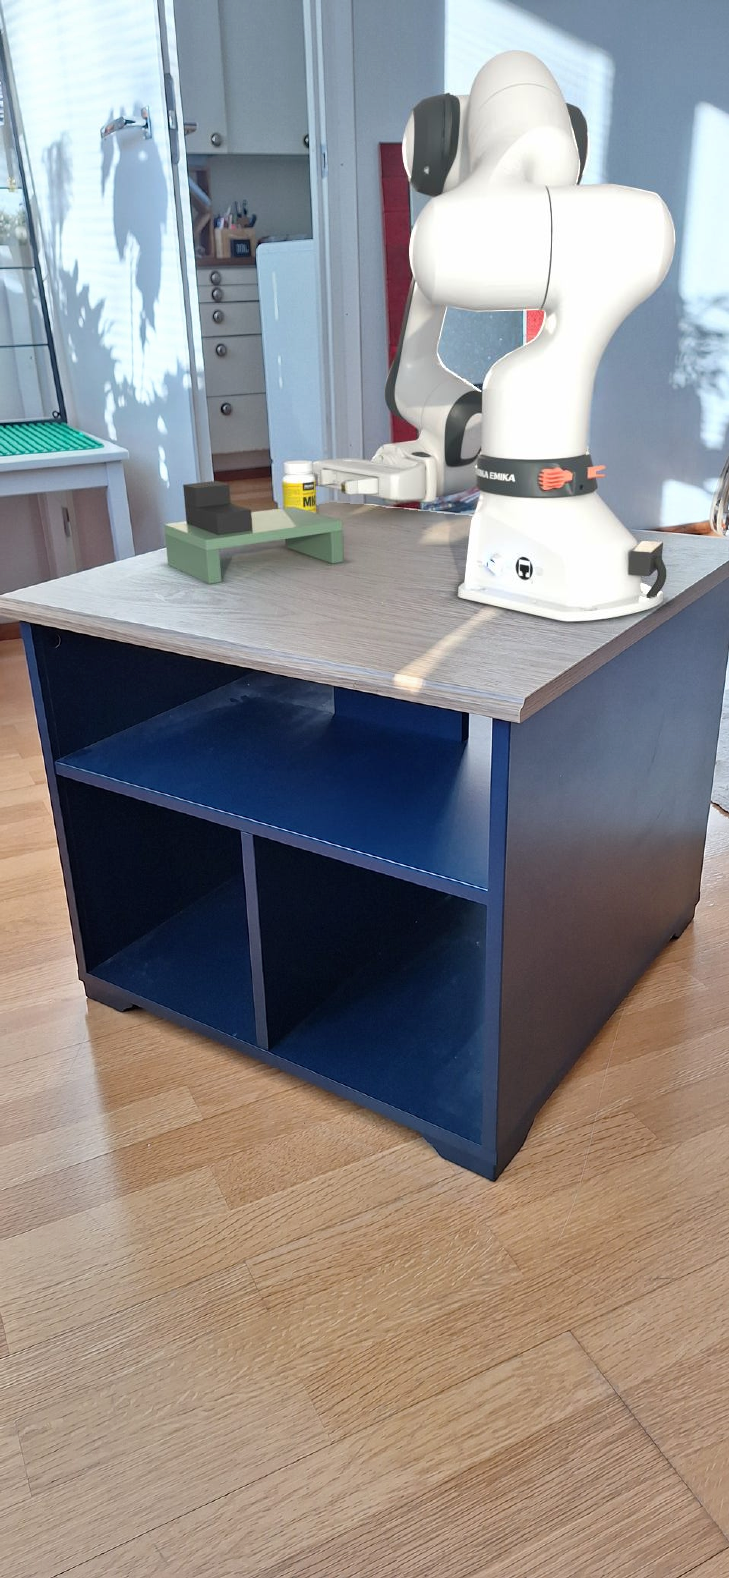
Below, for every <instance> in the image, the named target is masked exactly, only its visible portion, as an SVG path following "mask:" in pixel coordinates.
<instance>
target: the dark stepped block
mask: <svg viewBox="0 0 729 1578" xmlns="http://www.w3.org/2000/svg"><path fill="white" fill-rule="evenodd" d="M182 488H183V496H184V497H183V498H184V499H183V500H184V510H185V519H186V520H185V521H186V523H187V524H190V525H192V526H195V527H198V528H200V529H203V530H206V531H208V532H211V533H214V534H217V535H224V534H231V533H238V532H245V531H252V515H251V512H252V509H251V508H250V509H249V508H247V507H244V506H240V505H237V504H234V503H231V489H230V484H229V483H225V482H222V481H219V480H211V481H203V482H194V483H186V484H183V485H182Z"/></svg>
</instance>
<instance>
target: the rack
mask: <svg viewBox="0 0 729 1578" xmlns="http://www.w3.org/2000/svg"><path fill="white" fill-rule="evenodd" d="M251 515H252V531H245V532H238V533H231V534H224V535H217V534H214V533H211V532H208V531H206V530H203V529H200V528H198V527H195V526H192V525H190V524H187V523H186V520H185V521H175V522H169V523H164V524H163V528H164V538H165V547H166V557H167V565H168V566H169V567H172V568H174V569H175V570H178V571H180V572H183V573H184V574H187V575H189V576H191V577H194V578H196V579H198V580H200V581H203V582H205V583H207V584H209V585H211V584H216V583H221V582H222V580H223V579H222V567H221V557H220V556H221V555H220V549H227V548H228V549H229V548H234V547H240V546H247V545H253V544H260V543H267V542H268V543H269V542H274V541H280V540H281V541H282V540H284V545H285V546H284V547H285V548H287V549H290V550H293V551H295V552H299V553H302V554H304V555H307V556H310V557H313V558H316V559H318V560H321V561H323V562H324V561H325V562H327V563H330V564H339V563H343V562H344V542H343V541H344V540H343V539H344V536H343V520H341V519H338V518H335V517H331V516H328V515H325V514H320V513H318V512H317V513H314V512H310V511H307V510H303V509H300V508H296V507H288V508H283V507H281V508H273V509H266V510H259V511H251Z"/></svg>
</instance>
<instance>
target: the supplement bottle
mask: <svg viewBox="0 0 729 1578" xmlns="http://www.w3.org/2000/svg"><path fill="white" fill-rule="evenodd" d="M283 472H284V474H285V475H284V476H283V477H282V479H281V487H282V488H281V489H282V501H283V502H282V506H283V507H282V508H288V507H296V508H300V509H303V510H307V511H310V512H314V513H317V514H318V511H317V486H316V480H315V477H314V476H313V475H311V473H312V472H313V461H311V460H302V459H301V460H289V461H285V462H284V463H283Z"/></svg>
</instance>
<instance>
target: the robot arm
mask: <svg viewBox="0 0 729 1578" xmlns="http://www.w3.org/2000/svg"><path fill="white" fill-rule="evenodd" d="M401 145H402V146H401V152H402V160H403V161H402V162H403V165H404V169H405V171H406V174H407V180H408V182H409V184H410V185H411V187H412V188H413V189H414V191H415V192H417V193H419V194H421V195H424V196H428V197H432V198H430V199H429V200H428V202H426V204H425V205H424V206H423V208H422V209H421V210H420V212H419V214H418V216H417V218H416V220H415V222H414V224H413V227H412V231H411V234H410V239H409V240H410V241H409V247H408V248H409V250H408V251H409V252H408V254H409V255H408V256H409V263H410V264H409V265H410V269H411V273H412V278H411V281H410V285H409V289H408V293H407V299H406V303H405V309H404V313H403V318H402V323H401V328H400V333H399V339H398V343H397V347H396V351H395V356H394V357H393V358H394V359H393V361H392V364H391V367H390V369H389V372H388V374H387V377H386V380H385V386H384V401H385V403H386V406H387V408H388V410H389V412H390V413H391V415H393V416H395V417H397V418H399V419H400V420H402V421H404V422H406V423H407V424H409V425H412V426H413V427H414V428H415V429H417V431H420V434H419V437H418V438H417V439H415V440H408V441H407V440H406V441H401V442H392V443H386V444H383V445H381V446H380V447H379V448H378V449H377V450H376V452H375V454H374V456H373V457H372V458H371V459H364V458H358V457H357V458H355V457H343V458H332V459H330V458H329V459H321V460H316V461H314V462H312V466H313V470H312V471H313V472H312V473H311V475H313V476H314V477H315V480H316V487H321V488H326V489H331V490H337V491H341V493H342V494H345V495H356V494H358V495H364V496H369V497H374V498H380V499H381V500H382V501H383V502H384V503H386V504H388V505H391V506H393V505H395V506H396V505H400V504H410V503H432V502H435V501H436V500H437V498H441V497H449V496H453V495H457V494H461V493H465V492H468V491H469V490H471V489H473V488H475V487H476V488H477V489H478V490H479V493H478V494H479V495H478V499H477V504H476V507H475V509H474V512H473V514H472V516H471V521H470V528H469V536H468V545H467V553H466V554H467V555H466V563H465V572H464V574H465V575H464V581H463V582H462V583H461V584H460V585H459V586H458V589H457V597H458V598H460V599H464V600H467V601H472V602H478V603H481V604H486V605H490V606H494V607H499V608H502V609H507V610H512V611H517V612H520V613H525V614H529V615H534V616H538V617H543V618H547V619H552V620H556V621H562V622H586V621H597V620H602V619H603V620H606V619H611V618H617V617H623V616H628V615H631V614H635V613H641V612H644V611H648V610H650V609H652V608H654V607H657V606H659V605H660V604H661V603H663V601H664V592H663V591H662V589H663V588H664V585H665V583H666V580H667V568H666V565H665V563H664V561H663V551H664V550H663V549H664V542H663V541H653V540H652V541H651V540H642V541H641V542H638V541H637V539H636V538H635V537H634V535H633V534H632V533H631V532H630V530H628V529H627V528H626V526H625V525H624V524H623V523H622V522H621V521H620V519H619V518H618V517H617V516H616V514H615V513H614V512H613V511H612V509H611V508H610V507H609V505H607V504H606V503H605V502H604V500H603V499H602V498H601V497H600V495H599V494H598V493H597V490H598V488H599V486H598V485H599V484H598V482H597V479H599V478H604V477H605V476H606V474H604V473H603V474H602V473H601V474H600V473H597V472H598V471H599V472H600V471H602V470H604V469H606V465H596V466H594V464H593V458H592V455H591V453H590V452H589V450H588V451H587V446H588V441H589V426H590V415H591V407H592V399H593V392H594V385H595V380H596V376H597V371H598V369H599V366H600V362H601V359H602V357H603V355H604V353H605V350H606V348H607V346H608V344H609V343H610V341H611V339H612V337H614V334H615V333H616V331H617V330H618V328H619V327H620V326H621V325H622V323H623V322H624V321H625V320H626V318H627V317H628V316H629V315H630V314H631V313H632V312H633V311H634V310H635V309H636V308H638V307H639V306H640V305H641V304H642V303H644V302H645V301H646V300H647V299H648V298H650V297H652V295H653V294H654V293H655V292H656V291H657V289H658V288H659V287H660V286H661V285H662V283H663V281H664V280H665V278H666V276H667V274H668V272H669V270H670V268H671V266H672V265H671V264H672V262H673V258H674V254H675V247H676V233H675V225H674V221H673V217H672V214H671V212H670V210H669V208H668V206H667V204H666V203H665V201H664V200H663V199H662V198H661V197H660V195H659V194H658V193H656V192H653V191H648V190H644V189H640V188H635V187H632V186H631V187H630V186H625V185H620V184H614V183H595V184H589V183H588V184H581V182H582V180H583V176H584V173H585V170H586V168H587V165H588V160H589V155H590V138H589V130H588V123H587V118H586V117H585V115H584V114H583V112H582V109H580V107H578V106H577V105H574V104H572V103H568V102H566V99H565V97H564V95H563V92H562V90H561V87H560V86H559V84H558V82H557V81H556V79H555V77H554V75H553V73H552V72H551V70H550V69H549V67H547V65H546V64H545V63H544V62H543V61H542V60H541V59H540V58H538V57H537V56H536V55H535V54H532V53H531V52H528V51H524V50H517V49H515V50H507V51H503V52H501V53H498V54H496V55H494V56H493V57H491V58H490V59H489V60H488V61H486V62H485V63H484V64H483V65H482V66H481V68H480V69H479V71H478V72H477V74H476V76H475V77H474V79H473V82H472V85H471V88H470V91H469V94H457V95H454V94H451V93H450V92H447V93H442V94H436V95H433V96H429V97H426V98H423V99H421V100H420V101H419V102H418V103H417V104H416V105H415V106H414V107H413V108H412V110H411V112H410V117H409V118H408V121H407V123H406V125H405V129H404V132H403V137H402V143H401ZM448 307H449V308H452V309H459V310H465V311H471V312H500V311H501V312H504V311H508V312H509V311H541V312H544V316H543V322H542V325H541V327H540V330H539V331H538V334H537V335H536V336H535V337H534V338H533V339H532V340H531V341H529V342H527V343H525V344H523V345H522V346H520V347H517V348H516V349H514V350H512V351H511V352H509V353H507V354H505V355H504V356H503V357H501V358H500V359H498V360H497V361H496V362H495V363H494V364H493V365H492V366H491V367H490V369H489V370H488V371H487V373H486V375H485V378H484V380H483V383H482V390H480V389H479V388H477V387H476V386H474V385H473V384H472V383H470V382H469V381H467V380H466V379H465V378H462V377H460V376H459V375H458V374H456V373H455V372H453V371H451V370H450V369H449V368H447V367H446V366H445V365H444V363H443V362H442V360H441V358H440V355H439V353H438V347H439V343H440V340H441V335H442V330H443V325H444V322H445V317H446V313H447V310H448ZM595 490H596V491H595ZM655 572H657V576H656V579H655V581H654V583H653V585H652V586H650V585H648V584H645V583H642V577H650V576H651V575H653V574H654V573H655Z"/></svg>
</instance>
